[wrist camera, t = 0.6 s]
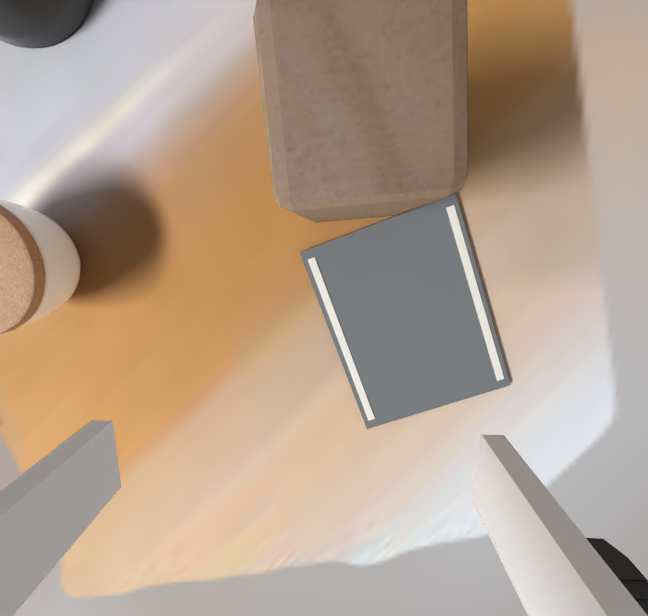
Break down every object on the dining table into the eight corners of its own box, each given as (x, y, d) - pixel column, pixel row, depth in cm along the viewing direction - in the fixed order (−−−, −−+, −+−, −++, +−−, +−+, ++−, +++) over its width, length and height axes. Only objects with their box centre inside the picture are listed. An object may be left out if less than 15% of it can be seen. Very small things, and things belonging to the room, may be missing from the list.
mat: (300, 252, 38) (299, 252, 37) (454, 194, 36) (455, 193, 35) (366, 426, 41) (367, 429, 41) (508, 383, 40) (511, 385, 39)
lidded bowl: (34, 330, 41) (-76, 364, 30) (-26, 229, 39) (-167, 228, 28) (124, 290, 39) (43, 311, 29) (67, 183, 37) (-44, 162, 26)
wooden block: (398, 110, 34) (475, -54, 15) (402, 215, 36) (475, 192, 17) (298, 122, 35) (244, -22, 15) (308, 223, 37) (271, 211, 17)
